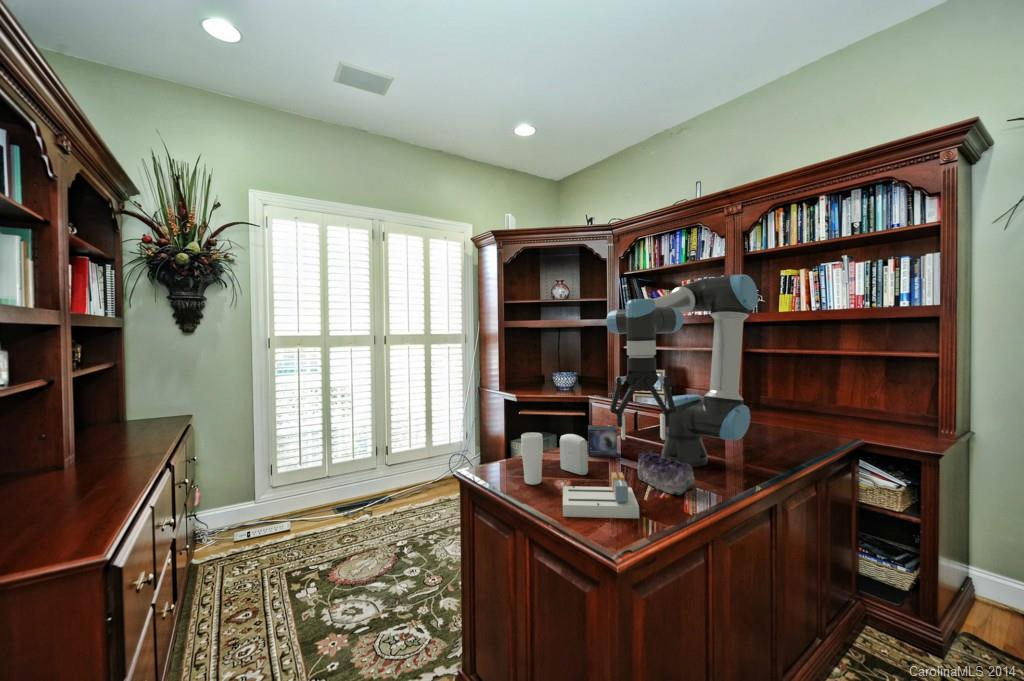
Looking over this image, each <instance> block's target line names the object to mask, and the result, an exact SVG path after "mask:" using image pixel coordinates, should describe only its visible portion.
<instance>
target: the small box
mask: <svg viewBox="0 0 1024 681" xmlns="http://www.w3.org/2000/svg"><path fill="white" fill-rule="evenodd" d="M587 429H588V430H587V437H588V438H587V440H588V441H587V454H588V458H591V457H592V458H593V457H596V458H618V440H617V439H618V434H617V433H618V430H617V426H616V425H587Z"/></svg>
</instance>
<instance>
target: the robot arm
mask: <svg viewBox="0 0 1024 681" xmlns="http://www.w3.org/2000/svg"><path fill="white" fill-rule="evenodd" d="M758 294H759V293H758V290H757V286H756V283H755V281H754V280H753V279H752V277H750V276H749V275H747V274H730V275H725V276H724V275H723V276H715V277H706V278H700V279H696V280H694V281H690V282H687V283H686V284H684V285H681V286H678V287H675V288H674V289H673V290H672V291H671V292H670V293H667V294H664V295H661V296H658V297H656V298H653V299H652V298H634V299H629V300H628V301H627V302H626V306H625V308H623V309H620V308H618V309H615V310H610V311H609V313H607V316H606V321H605V322H606V327H607V330H608V331H609V332H610V333H612V334H617V335H618V334H619V335H624V334H626V355H627V356H628V357H627V358H626V367H627V368H626V369H627V371H626V375H625V376H616V377H615V388H614V392H613V395H612V399H611V403H610V406H609V411H610V412H611V413H612V414H615V415H616V424H617V426H618V427H620V438H621V439H622V440H623V441H626V415H625V414H624V411H625V409H626V408H627V406H628V404H629V402H630V400H631V399H632V396H633V395H634V394H635V392H641V391H644V392H650V393H651V395H652V397H653V398H654V400H655V401H656V403H657V405H658V406H659V408H660V409H661V411H662V413H659V426H660V427H659V435H660V436H659V437H660V438H661V440H662V441H664V444H663V447H662V450H661V458H665V457H666V458H668V459H671V460H672V461H679V462H680V463H682V464H689V465H691V467H692V468H693V467H695V468H697V467H703V466H705V465H707V464H708V459H709V458H708V454H707V450H706V447H705V445H704V442H703V438H702V437H703V436H705V437H706V436H707V437H711V438H716V439H721V440H725V441H726V440H729V441H738V440H740V439H742V438H743V437H744V436H745V435H746V433H747V431H748V429H749V427H750V422H751V412H750V408H749V407H748V406H747V405H745V404H744V397H742V396H741V395H740V392H739V391H740V390H739V389H740V378H741V376H740V375H741V363H742V362H741V361H742V347H743V346H742V345H743V333H744V332H743V329H744V321H745V320H746V319H747V318H749V317H750V311H753V310H754V309H755V308H756V307H757V305H758V303H759V302H758V301H759V295H758ZM694 312H695V313H696V312H697V313H698V312H710V313H709V315H710V317H712V319H713V320H714V323H713V324H714V326H713V337H712V338H713V339H712V354H711V367H710V382H709V390H708V392H707V393H705V394H704V395H703V396H704V397H703V398H704V399H702V396H701V395H700V394H682V395H672V391H671V389H670V378H669V376H667V375H662V376H661V375H658V374H657V358H656V357H655V355H657V349H656V348H657V343H656V342H657V341H656V338H657V337H656V335H657V334H659V335H660V334H668V335H669V334H672V333H676V332H679V330H680V329H681V328H682V326H683V323H684V316H683V315H686V314H689V313H694ZM658 381H659V384H661V385H662V390H663V392H664V396H665V400H666V401H665V403H664V401H663V399H662V398H661V396H660V394H659V392H658V391H657V389H656V388H655V385H656V383H657V382H658ZM625 382H627V384H629V386H628V388H627V391H626V393H625V394H624V396H623V398H622V400H621V402H620V404H619V405H618V402H619V398H620V395H621V394H620V393H621V390H622V385H624V384H625ZM617 405H618V406H617Z"/></svg>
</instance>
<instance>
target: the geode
mask: <svg viewBox="0 0 1024 681" xmlns="http://www.w3.org/2000/svg"><path fill="white" fill-rule="evenodd" d="M637 461H638V465H637V467H636V468H637V477H638V480H639V481H642V482H643V483H645V484H647V485H650V486H651V487H653V488H655V489H656V490H660V491H661V492H664V493H667V494H669V495H676V496H677V497H678V496H679V497H680V496H682V495H683V494H685V493H686V491H688V490H690V489H693V488H694V487H695V481H696V480H695V479H696V477H695V476H694V471H693V467H691V465H689V464H682V463H680V462H679V461H672V460H671V459H668V458H666V457H665V458H662V456H661V454H659V453H657V452H656V451H655V450H654V449H652V448H651V449H650V450H649V451H646V450H643V451H642V453H638V458H637Z"/></svg>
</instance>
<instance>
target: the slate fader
mask: <svg viewBox="0 0 1024 681" xmlns="http://www.w3.org/2000/svg"><path fill="white" fill-rule="evenodd" d="M628 487H629V486H628V483H627V481H626V480H624V481H621V480H619V481H614V497H615V500H616V502H628Z"/></svg>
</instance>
